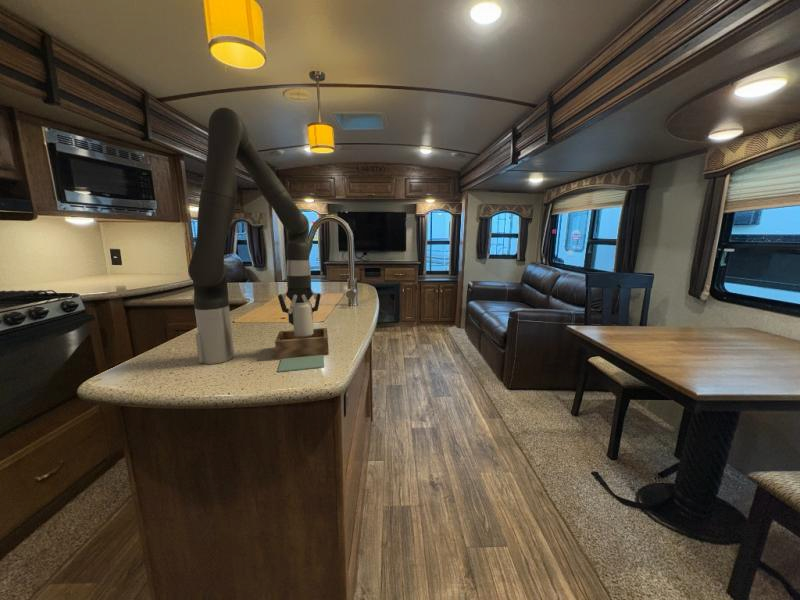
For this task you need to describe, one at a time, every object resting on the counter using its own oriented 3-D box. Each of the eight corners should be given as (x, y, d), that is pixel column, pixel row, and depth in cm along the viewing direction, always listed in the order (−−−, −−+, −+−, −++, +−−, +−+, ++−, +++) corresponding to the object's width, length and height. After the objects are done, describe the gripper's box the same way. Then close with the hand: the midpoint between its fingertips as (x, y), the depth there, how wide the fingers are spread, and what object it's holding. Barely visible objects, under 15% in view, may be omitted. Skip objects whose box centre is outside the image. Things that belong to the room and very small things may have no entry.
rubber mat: (278, 372, 89) (277, 371, 89) (281, 359, 98) (281, 358, 98) (324, 367, 92) (324, 366, 92) (323, 356, 101) (323, 354, 101)
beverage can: (307, 339, 102) (305, 303, 99) (290, 338, 103) (287, 302, 101) (316, 333, 108) (315, 300, 106) (300, 332, 109) (298, 299, 107)
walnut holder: (276, 359, 98) (275, 341, 97) (280, 347, 110) (279, 331, 109) (328, 354, 103) (327, 337, 102) (327, 343, 114) (326, 327, 113)
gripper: (274, 275, 96) (277, 327, 99) (321, 274, 100) (322, 325, 103) (277, 273, 103) (280, 322, 106) (321, 272, 107) (322, 320, 110)
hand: (301, 323), depth 104 cm, fingers closed on beverage can, 5 cm apart
